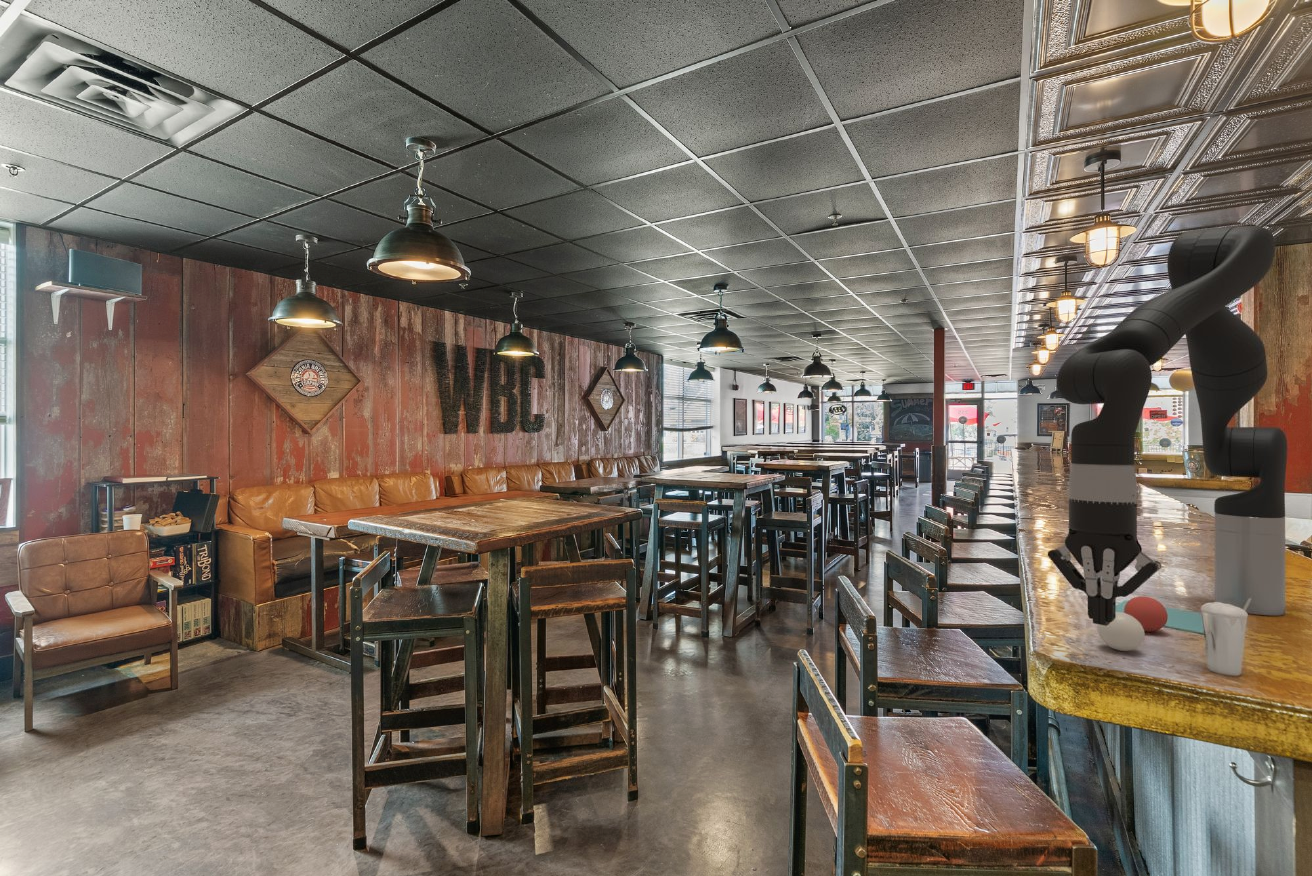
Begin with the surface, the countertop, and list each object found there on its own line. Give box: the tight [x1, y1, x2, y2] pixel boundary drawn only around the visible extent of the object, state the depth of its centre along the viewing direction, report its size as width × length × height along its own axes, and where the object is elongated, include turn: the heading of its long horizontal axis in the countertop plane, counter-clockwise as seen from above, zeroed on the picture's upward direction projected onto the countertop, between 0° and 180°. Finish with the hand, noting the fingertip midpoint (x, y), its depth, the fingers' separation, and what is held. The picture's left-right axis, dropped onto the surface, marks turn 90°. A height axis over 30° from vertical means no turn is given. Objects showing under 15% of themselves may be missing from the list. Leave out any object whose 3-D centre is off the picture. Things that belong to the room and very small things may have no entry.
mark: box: [1116, 600, 1204, 635], centre depth 105 cm, size 14×14×1 cm
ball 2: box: [1124, 595, 1168, 632], centre depth 97 cm, size 6×6×6 cm
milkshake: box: [1200, 598, 1252, 677], centre depth 80 cm, size 5×5×10 cm
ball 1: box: [1097, 612, 1146, 652], centre depth 88 cm, size 6×6×6 cm
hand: (1101, 623), depth 82 cm, fingers closed
